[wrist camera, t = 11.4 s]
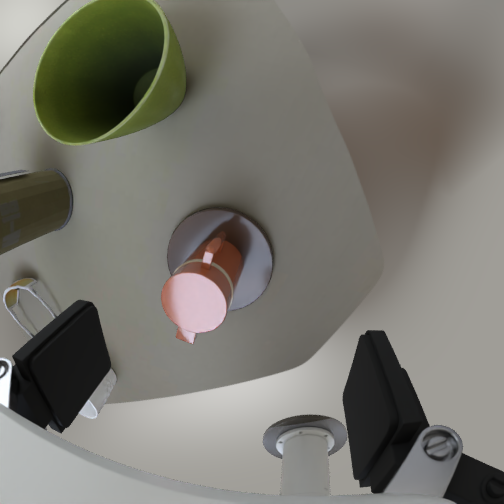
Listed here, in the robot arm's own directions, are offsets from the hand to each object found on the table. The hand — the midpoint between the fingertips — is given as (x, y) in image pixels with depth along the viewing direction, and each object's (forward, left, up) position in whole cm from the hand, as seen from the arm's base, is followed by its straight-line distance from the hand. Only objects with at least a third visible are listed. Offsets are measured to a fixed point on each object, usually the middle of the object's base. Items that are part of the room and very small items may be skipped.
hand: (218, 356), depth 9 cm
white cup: (-22, +40, -28) cm, 54 cm away
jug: (-5, +8, -27) cm, 28 cm away
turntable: (-5, +8, -28) cm, 30 cm away
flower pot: (+19, +9, -28) cm, 35 cm away
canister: (+12, +33, -28) cm, 45 cm away
